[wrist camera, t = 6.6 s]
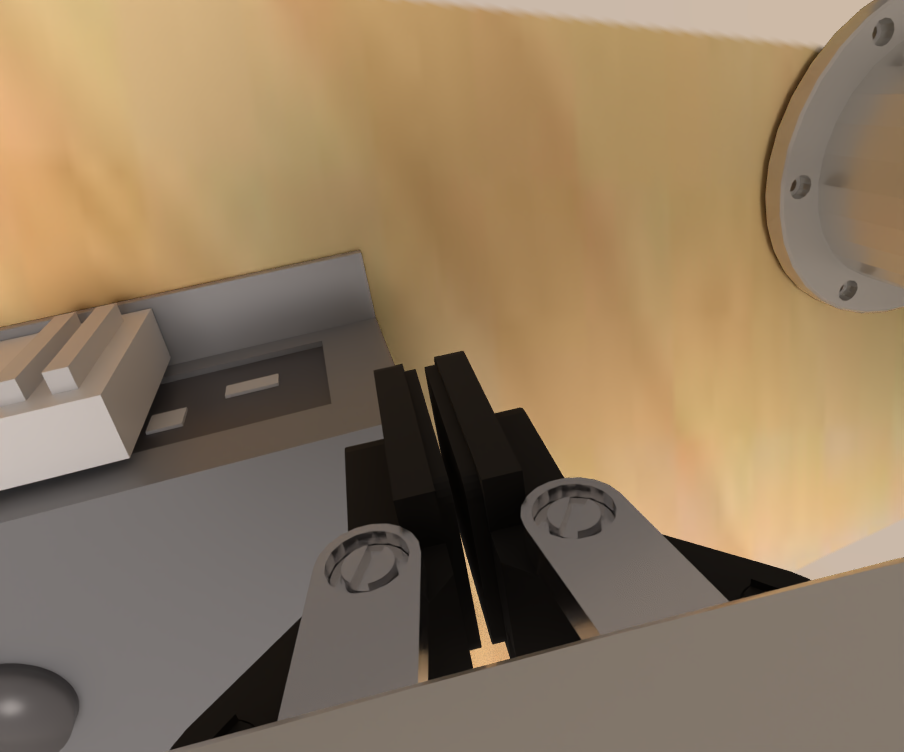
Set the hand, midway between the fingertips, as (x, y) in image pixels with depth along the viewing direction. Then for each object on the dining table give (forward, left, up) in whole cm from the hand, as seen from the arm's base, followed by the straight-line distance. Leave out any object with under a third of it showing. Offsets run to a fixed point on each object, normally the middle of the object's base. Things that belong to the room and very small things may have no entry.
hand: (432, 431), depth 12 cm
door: (+11, 0, -11) cm, 16 cm away
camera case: (+7, +6, -12) cm, 15 cm away
